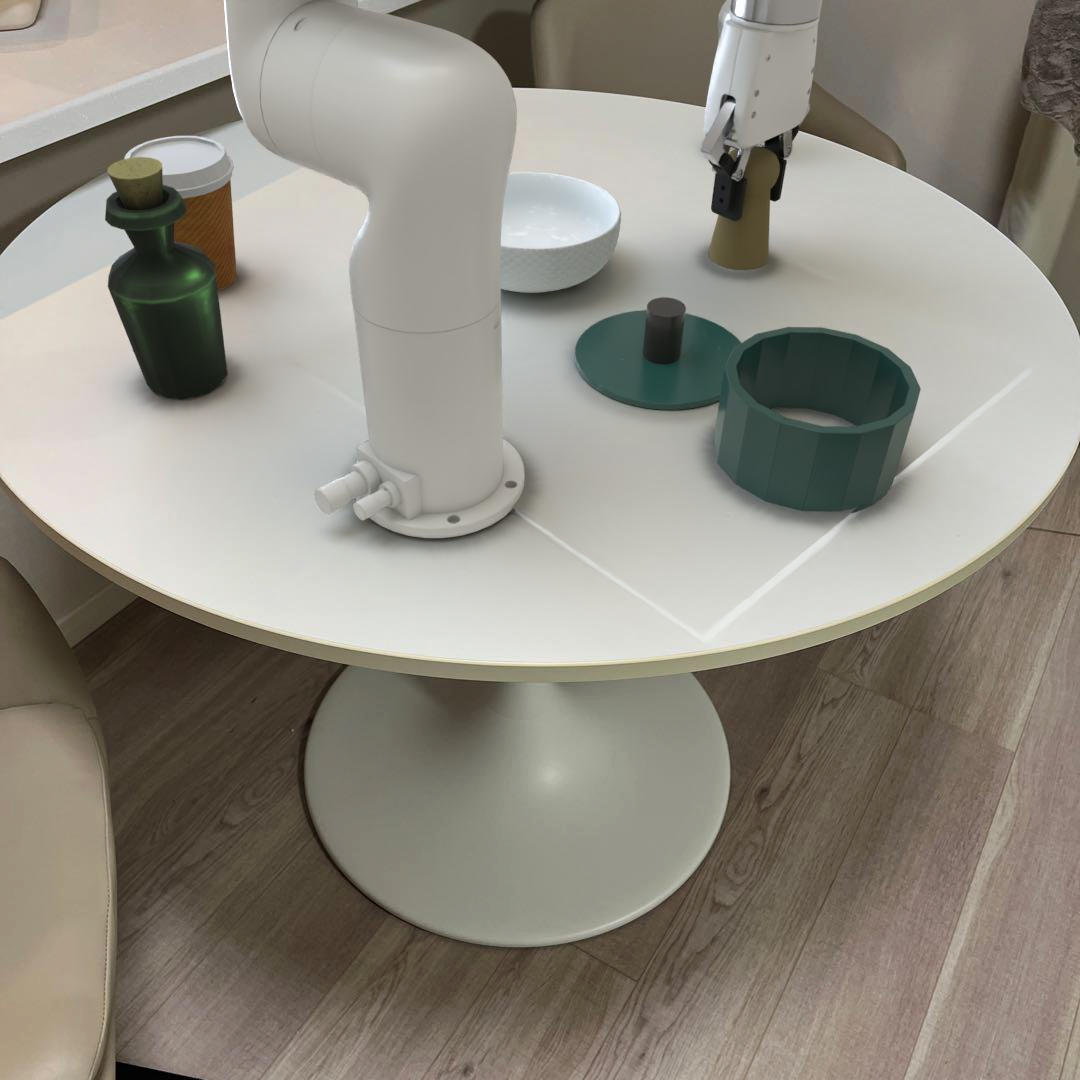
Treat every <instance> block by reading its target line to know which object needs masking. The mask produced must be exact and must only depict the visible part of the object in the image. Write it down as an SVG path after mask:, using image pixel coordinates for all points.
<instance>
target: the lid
mask: <svg viewBox="0 0 1080 1080" xmlns="http://www.w3.org/2000/svg"><path fill="white" fill-rule="evenodd" d="M686 312H687V307H686V305H685V303H684V302H682V300H679V299H676V298H673V297H668V296H667V297H666V296H662V297H656V298H653V299H651V300H649V301H648V303H647V304H646V309H644V310H643V309H642V310H632V311H626V312H621V313H618V314H614V315H611V316H608V317H605V318H602V319H600V320H599V321H597V322H595V323H593V324H592V325H590V326H589V327H587V329H585V330H584V331H583V332H582V334H581V335H580V336H579V338H578V339H577V341H576V345H575V348H574V363H575V367H576V369H577V371H578V373H579V375H580V376H581V377H582V379H583V380H584V381H585V382H586V383H587V384H588V385H589V386H591V387H592V388H593V389H594V390H596V391H597V392H599V393H601V394H602V395H604V396H606V397H608V398H610V399H612V400H615V401H618V402H620V403H623V404H627V405H629V406H633V407H634V406H635V407H638V408H642V409H643V408H644V409H652V410H661V411H662V410H663V411H679V410H688V409H696V408H701V407H705V406H708V405H712V404H715V403H717V402H719V401H720V394H721V388H722V381H723V375H724V368H725V364H726V362H727V361H728V359H729V357H730V355H731V353H732V351H733V349H734V348H735V347H736V346H737V345H739V344H740V343H742V342H741V341H740V339H739V338H738V337H737V336H736V335H734V334H733V333H732V332H731V331H729V330H728V329H726V328H725V327H724V326H722V325H720V324H718V323H716V322H715V321H711V320H709V319H707V318H704V317H700V316H698V315H693V314H689V313H686Z"/></svg>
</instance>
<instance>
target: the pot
mask: <svg viewBox="0 0 1080 1080" xmlns="http://www.w3.org/2000/svg"><path fill="white" fill-rule="evenodd" d="M915 375H916V374H915V373H914V371H913V368H912V367H911V366H910V365H909V364H908V363H906V361H904V360H903V359H902V358H901V357H899V356H898V355H897V354H896V353H894V352H893V351H892V350H891V349H890V348H887V346H883V345H881V344H879V343H876V342H874V341H872V340H870V339H867V338H865V337H863V336H861V335H859V334H856V333H850V332H847V331H841V330H837V329H831V328H827V327H823V326H822V327H821V326H819V327H818V326H787V327H786V326H785V327H780V328H776V329H772V330H767V331H764V332H763V331H762V332H758V333H756V334H754V335H752V336H750V337H749V338H747V339H745V340H744V341H742V342H741V343H740V344H739V345H737V346H736V347H735V348H734V349H733V351H732V353H731V355H730V357H729V359H728V361H727V362H726V364H725V368H724V375H723V381H722V388H721V394H720V401H718V408H717V415H716V421H715V428H714V433H713V434H714V435H713V441H712V444H713V448H714V454H715V458H716V463H717V464H718V466H719V467H720V468H721V469H722V470H723V471H724V472H725V474H726V475H727V476H728V477H729V479H731V480H732V482H733V483H734V484H735V485H736V486H737V487H740V488H741V489H743V490H745V491H747V492H748V493H750V494H752V495H753V496H755V497H757V498H759V499H760V500H762V501H764V502H765V503H766V502H767V503H770V504H772V505H773V504H774V505H777V506H782V507H786V508H789V509H792V510H795V511H796V510H797V511H801V512H843V511H848V510H851V509H854V510H852V511H851V512H850V514H853V513H854V514H855V513H857V512H861V511H863V510H865V509H868V508H870V507H872V506H874V505H876V503H878V502H879V501H880V500H881V499H882V498H884V497H885V496H886V495H887V494H888V492H889V491H890V489H891V487H892V486H893V483H894V480H895V477H896V475H897V474H896V473H897V470H898V467H899V464H900V461H901V457H902V455H903V451H904V448H905V445H906V441H907V439H908V438H907V437H908V435H909V432H910V428H911V425H912V421H913V418H914V416H915V412H916V409H917V404H918V402H919V397H920V394H921V390H922V389H921V386H920V383H919V382H918V380H917V378H916V376H915ZM775 408H776V409H777V408H779V409H780V408H781V409H782V408H784V409H785V408H787V409H790V408H791V409H793V408H794V409H800V408H801V409H808V410H813V411H818V412H821V413H827V414H830V415H834V416H837V417H839V418H841V419H842V420H845V421H847V422H849V423H851V424H853V425H855V426H848V425H847V426H842V425H839V426H837V425H835V426H834V425H832V426H831V425H820V424H815V423H810V422H806V421H803V420H798V419H793V418H790V417H786V416H784V415H782V414H780V413H779V412H776V411H774V410H772V409H775Z"/></svg>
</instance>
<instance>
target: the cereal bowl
mask: <svg viewBox="0 0 1080 1080" xmlns="http://www.w3.org/2000/svg"><path fill="white" fill-rule="evenodd" d="M621 223H622V211H621V206H620V204H619V202H618V201H617V199H616V198H615V197H614V196H613V195H612V194H611V193H610V192H608V191H607V190H606V189H604V188H602V187H601V186H599V185H597V184H595V183H592V182H590V181H587V180H584V179H581V178H578V177H574V176H570V175H565V174H560V173H553V172H543V171H513V172H509V175H508V180H507V186H506V192H505V198H504V207H503V216H502V230H501V290H503V291H510V292H515V293H522V294H540V293H548V292H554V291H560V290H563V289H564V290H565V289H568V288H571V287H574V286H577V285H579V284H581V283H583V282H585V281H587V280H590V279H591V278H592V277H593V276H595V275H597V274H598V272H600V271H601V270H602V269H603V268H604V267H605V266H606V265H607V263H609V261H610V259H611V258H612V256H613V253H614V252H615V250H616V246H617V245H618V240H619V237H620V231H621Z"/></svg>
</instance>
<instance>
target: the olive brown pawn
mask: <svg viewBox="0 0 1080 1080" xmlns="http://www.w3.org/2000/svg"><path fill="white" fill-rule="evenodd" d="M738 152H739V150H738V149H734V150H732V151H731V152H730V153H729V154H730V155H731V157H732V158H733V160H734V161H736V158H737V155H738ZM779 171H780V166H779V161H778V158H777V156H776V155H775V154H774V153H773V152H772V151H770V150H768V149H766V148H762V147H761V146H753V147H752V150H751V153H750V156H749V159H748V162H747V165H746V168H745V172H744V175H743V178H745V179H747V184H746V191H745V198H744V204H743V211H742V217H741V219H740V220H738V221H733V220H730V219H728V218H725V217H723V216H720V215H718V214H717V219H716V223H715V226H714V230H713V234H712V237H711V241H710V245H709V247H708V252H707V255H708V258H709V259H710V260H711V262H712V263H714V264H716V265H717V266H719V267H721V268H725V269H728V270H734V271H751V270H757V269H760V268H762V267H764V266H765V265H766V264H767V263H768V261H769V252H770V250H769V248H770V247H769V246H770V243H769V242H770V216H771V200H770V189H771V188H772V187H773V186H774V185H775V183H776V181H777V178H778V176H779Z"/></svg>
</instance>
